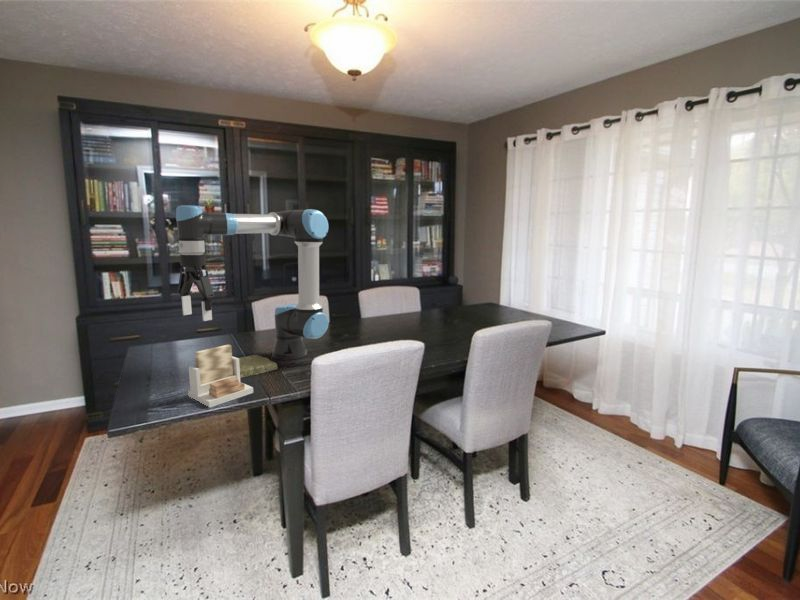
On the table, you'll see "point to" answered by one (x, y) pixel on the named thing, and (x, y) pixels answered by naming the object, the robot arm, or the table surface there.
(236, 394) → the board rack
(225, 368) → the birch board
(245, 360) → the decorative tile
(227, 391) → the offcut lower
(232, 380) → the offcut upper
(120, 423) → the table surface
